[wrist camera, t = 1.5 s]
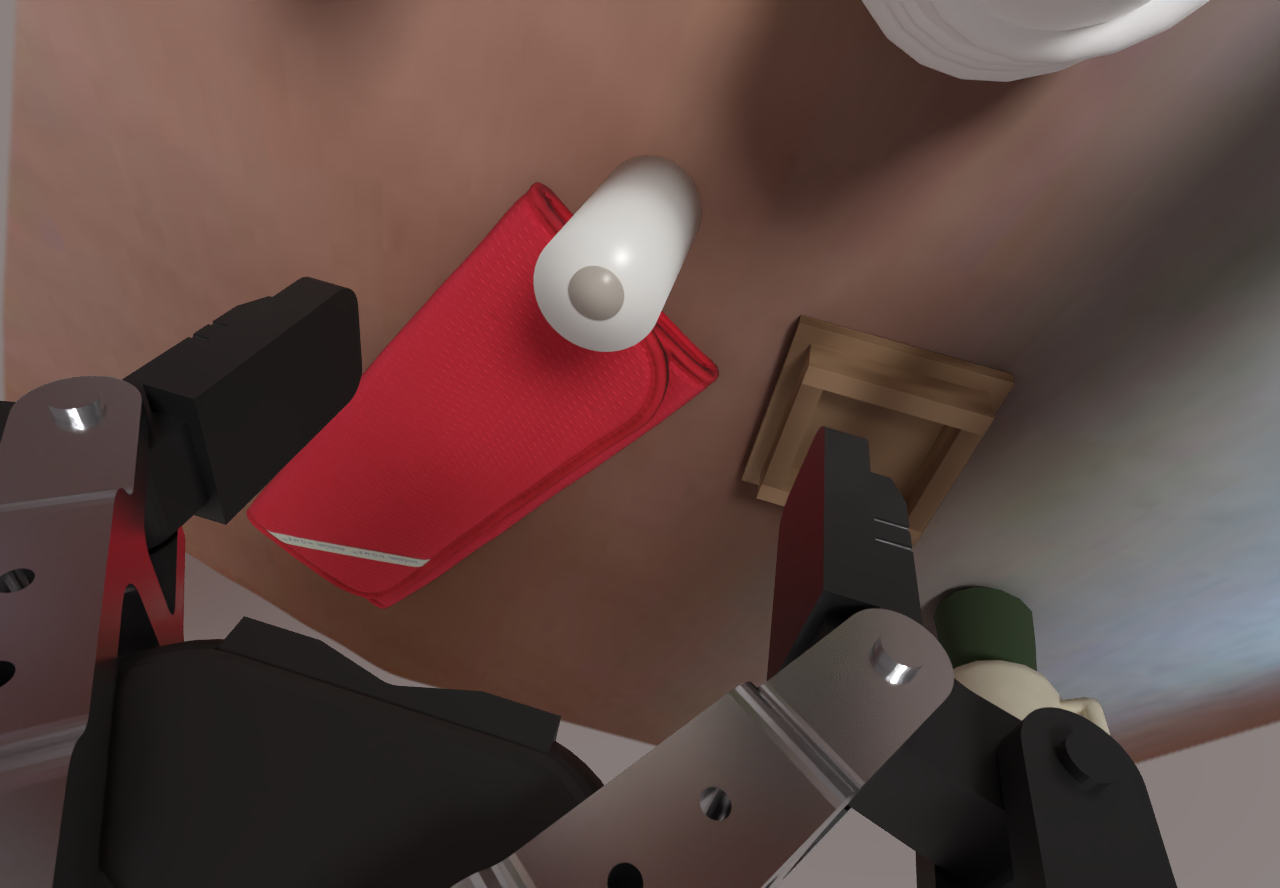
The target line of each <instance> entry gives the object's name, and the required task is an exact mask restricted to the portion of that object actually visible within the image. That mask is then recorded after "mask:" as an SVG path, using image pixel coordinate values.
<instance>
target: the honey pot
mask: <svg viewBox="0 0 1280 888" xmlns="http://www.w3.org/2000/svg"><path fill="white" fill-rule="evenodd" d="M861 1H862V2H863V4H864V5H865V6H866V8H867V9H868V11H869V12H870V14H871V15H872V17H873V18H874V20H875V21H876V23H877V24H878V26H879V27H880V29H881V30H882V32H883V33H884V35H885V36H886V38H888V39H889V40H890V41H891V42H893V43H894V44H895V45H896V46H898V47H899V48H900V49H902V50H903V51H904V52H905V53H907V54H908V55H909V56H910V57H912V58H913V59H914V60H916V61H917V62H918V63H919V64H921V65H924V66H926V67H929V68H932V69H934V70H937V71H940V72H943V73H945V74H948V75H951V76H954V77H956V78H959V79H966V80H983V81H1001V82H1009V81H1014V80H1019V79H1024V78H1028V77H1033V76H1038V75H1043V74H1048V73H1053V72H1058V71H1061V70H1063V69H1066V68H1068V67H1070V66H1072V65H1075V64H1077V63H1079V62H1081V61H1083V60H1086V59H1089V58H1094V57H1099V56H1103V55H1108V54H1113V53H1117V52H1119V51H1121V50H1123V49H1126V48H1128V47H1130V46H1132V45H1135V44H1137V43H1139V42H1141V41H1143V40H1146V39H1148V38H1150V37H1152V36H1155V35H1157V34H1159V33H1161V32H1163V31H1166V30H1168V29H1170V28H1171V27H1173V26H1174V25H1176V24H1177V23H1179V22H1180V21H1181V20H1183V19H1184V18H1186V17H1187V16H1188V15H1190V14H1191V13H1193V12H1194V11H1196V10H1197V9H1198V8H1200V7H1201V6H1203V5H1204V4H1206V3H1207V2H1208V1H1210V0H861Z"/></svg>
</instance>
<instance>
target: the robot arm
mask: <svg viewBox="0 0 1280 888" xmlns="http://www.w3.org/2000/svg"><path fill="white" fill-rule="evenodd" d="M361 375H362V358H361V343H360V328H359V313H358V301H357V297H356V295H355V293H354V292H353V291H352V290H351V289H349V288H345V287H342V286H338V285H335V284H331V283H328V282H324V281H321V280H317V279H314V278H310V277H303V278H301V279H299V280H297V281H296V282H294V283H293V284H291V285H290V286H288V287H287V288H285V289H284V290H282V291H281V292H279V293H278V294H276V295H275V296H273V297H270V296H268V297H264V298H261V299H258V300H255V301H251V302H248V303H245V304H242V305H238V306H236V307H234V308H233V309H231V310H230V311H228V312H227V313H225V314H223V315H222V316H220V317H219V318H217V319H216V320H214V321H213V324H212V325H209V324H208V325H206V326H205V327H203V328H202V329H200V330H199V331H197V332H195V333H194V334H193V338H190V337H188V338H186V339H185V340H183V341H181V342H180V343H178V344H177V345H175V346H174V347H172V348H170V349H169V350H167V351H166V352H164V353H163V354H161V355H160V356H158V357H156V358H155V359H153V360H152V361H150V362H149V363H147V364H146V365H144V366H142V367H141V368H139V369H138V370H136V371H135V372H133V373H132V374H130V375H128V376H127V377H125V378H124V379H122V380H120V379H117V378H112V377H106V376H80V377H72V378H66V379H61V380H58V381H54V382H50V383H48V384H45V385H42V386H40V387H38V388H36V389H33V390H31V391H30V392H28V393H27V394H25V395H23V396H22V397H21V398H20V399H19V400H17V401H16V402H8V401H0V888H777V887H778V886H779V885H780V884H781V883H782V882H783V881H784V880H785V879H786V878H787V877H788V876H789V874H791V872H792V871H793V870H794V869H795V868H796V867H797V866H798V865H799V864H800V863H801V862H802V861H803V859H805V858H806V857H807V856H808V854H809V853H810V852H811V851H812V850H813V849H814V848H815V847H816V846H817V845H818V844H819V843H820V842H821V841H822V840H823V839H824V837H825V836H826V835H827V834H828V833H829V832H830V831H831V830H832V829H833V828H834V827H835V826H836V825H837V824H838V823H839V822H840V821H841V820H842V818H843V817H844V816H845V815H846V814H847V813H848V812H849V811H850V810H851V809H852V808H853V809H855V810H856V811H857V812H859V813H860V814H862V815H863V816H865V817H866V818H868V819H869V820H871V821H872V822H873V823H875V824H876V825H878V826H879V827H881V828H882V829H884V830H885V831H887V832H888V833H890V834H891V835H893V836H894V837H896V838H897V839H898V840H900V841H901V842H903V843H904V844H906V845H907V846H909V847H910V848H912V849H913V850H915V851H916V874H917V888H1177V885H1176V882H1175V879H1174V876H1173V873H1172V869H1171V866H1170V863H1169V860H1168V856H1167V853H1166V850H1165V847H1164V844H1163V840H1162V837H1161V834H1160V831H1159V827H1158V824H1157V821H1156V818H1155V815H1154V812H1153V808H1152V805H1151V802H1150V799H1149V795H1148V792H1147V789H1146V786H1145V783H1144V781H1143V778H1142V776H1141V774H1140V772H1139V770H1138V769H1137V767H1136V765H1135V764H1134V762H1133V761H1132V759H1131V758H1130V756H1129V755H1128V754H1127V753H1126V751H1125V750H1124V749H1123V748H1122V747H1121V746H1120V745H1119V744H1118V743H1117V742H1116V741H1115V740H1114V739H1113V738H1112V737H1111V736H1110V735H1109V734H1108V733H1106V732H1105V731H1104V730H1103V729H1102V728H1100V727H1099V726H1097V725H1096V724H1094V723H1093V722H1091V721H1090V720H1088V719H1086V718H1084V717H1082V716H1081V715H1078V714H1076V713H1073V712H1071V711H1068V710H1064V709H1061V708H1054V707H1044V708H1039V709H1036V710H1034V711H1032V712H1031V713H1029V714H1028V715H1027V716H1026V717H1025V718H1024V719H1023V720H1020V719H1018V718H1016V717H1015V716H1013V715H1011V714H1010V713H1008V712H1006V711H1004V710H1003V709H1001V708H999V707H998V706H996V705H994V704H993V703H991V702H989V701H987V700H986V699H984V698H982V697H981V696H979V695H977V694H976V693H974V692H973V691H971V690H969V689H968V688H966V687H965V686H964V685H962V684H961V683H960V682H959V681H957V680H956V679H955V678H954V673H953V668H952V664H951V661H950V659H949V657H948V655H947V653H946V651H945V650H944V648H943V647H942V645H941V644H940V643H939V642H938V640H937V639H936V638H935V637H934V636H933V635H932V634H931V633H930V632H929V631H928V630H927V629H925V628H924V627H923V624H922V617H921V609H920V602H919V594H918V587H917V579H916V572H915V564H914V557H913V552H911V549H912V542H911V534H910V532H909V531H908V530H909V519H908V512H907V504H906V501H905V500H904V498H903V497H902V495H901V493H900V492H899V490H898V489H897V487H896V485H895V484H894V482H893V481H892V479H891V478H890V477H887V476H883V475H880V474H876V473H873V472H871V469H870V456H869V444H868V440H867V439H866V438H863V437H859V436H856V435H852V434H849V433H845V432H842V431H838V430H835V429H831V428H828V427H825V426H822V427H820V428H819V430H818V431H817V433H816V435H815V437H814V439H813V442H812V444H811V446H810V448H809V450H808V453H807V455H806V457H805V459H804V462H803V464H802V466H801V468H800V471H799V473H798V475H797V477H796V480H795V482H794V484H793V486H792V488H791V491H790V493H789V495H788V498H787V501H786V504H785V507H784V510H783V514H782V518H781V523H780V529H779V539H778V551H777V563H776V576H775V588H774V600H773V612H772V624H771V636H770V648H769V660H768V672H767V682H765V683H764V684H763V685H761V686H759V687H757V688H756V687H755V685H754V684H753V683H751V682H746V683H743V684H741V685H739V686H738V687H736V688H734V689H733V690H732V691H730V692H729V693H727V694H726V695H725V696H723V697H722V698H721V699H719V700H718V701H717V702H715V703H714V704H713V705H711V706H710V707H709V708H707V709H706V710H705V711H703V712H702V713H701V714H699V715H698V716H697V717H695V718H694V719H693V720H691V721H690V722H689V723H687V724H686V725H685V726H683V727H682V728H681V729H679V730H678V731H677V732H675V733H674V734H673V735H671V736H670V737H669V738H667V739H666V740H665V741H663V742H662V743H661V744H659V745H658V746H656V747H655V748H654V749H653V750H651V751H650V752H649V753H647V754H646V755H645V756H643V757H642V758H640V759H639V760H638V761H636V762H635V763H634V764H632V765H631V766H630V767H628V768H627V769H626V770H624V771H623V772H622V773H620V774H619V775H618V776H616V777H615V778H614V779H613V780H611V781H610V782H608V783H607V784H606V785H604V784H603V783H602V782H601V780H600V779H599V778H598V777H597V776H596V775H595V774H594V772H593V771H592V770H591V769H590V768H589V767H588V766H587V765H586V764H585V763H584V762H583V761H582V760H580V759H579V758H578V757H577V756H576V755H574V754H573V753H572V752H571V751H569V750H568V749H566V748H565V747H563V746H562V745H561V744H559V743H557V742H556V736H557V732H558V727H559V723H560V719H561V716H558V715H555V714H552V713H549V712H546V711H543V710H539V709H536V708H533V707H530V706H527V705H524V704H520V703H517V702H514V701H511V700H508V699H505V698H501V697H498V696H495V695H492V694H489V693H486V692H482V691H469V690H454V689H439V688H422V687H408V686H396V685H391V684H388V683H386V682H384V681H382V680H380V679H379V678H377V677H376V676H374V675H373V674H371V673H370V672H368V671H367V670H365V669H364V668H362V667H360V666H359V665H357V664H356V663H354V662H353V661H351V660H350V659H348V658H347V657H345V656H343V655H342V654H341V653H339V652H337V651H336V650H334V649H333V648H331V647H330V646H328V645H327V644H325V643H324V642H322V641H320V640H318V639H314V638H311V637H308V636H305V635H302V634H298V633H295V632H292V631H289V630H286V629H282V628H280V627H276V626H273V625H270V624H267V623H264V622H260V621H257V620H254V619H251V618H248V617H243V618H242V619H241V621H240V622H239V623H238V624H237V625H236V627H235V628H234V629H233V630H232V631H231V632H230V634H229V635H228V636H227V637H226V638H225V639H224V640H223V639H211V640H193V641H186V642H184V635H183V619H184V572H185V535H184V532H183V529H182V525H183V524H184V523H185V522H186V521H187V520H189V519H190V518H191V517H192V516H193V515H196V516H199V517H202V518H206V519H209V520H212V521H215V522H219V523H222V524H225V525H226V524H227V523H228V522H229V521H230V520H231V519H232V518H233V517H234V516H235V515H236V514H237V513H238V512H239V511H240V510H241V509H242V508H243V507H244V506H245V505H246V504H247V503H248V502H249V501H250V500H251V499H252V498H253V497H254V496H255V495H256V494H257V493H258V492H259V491H260V490H261V489H262V488H263V487H264V486H265V485H267V484H268V483H269V482H270V481H271V480H272V479H273V478H274V477H275V476H276V475H277V474H278V473H279V472H280V471H281V470H282V469H283V468H284V467H285V466H286V465H287V464H288V463H289V462H290V461H291V460H292V459H293V458H294V457H295V456H296V455H297V454H298V453H299V452H300V451H301V450H302V449H303V448H304V447H305V446H306V445H307V444H308V443H309V442H310V441H311V440H312V439H313V438H314V437H315V436H316V435H317V434H318V433H319V432H320V431H321V430H322V429H323V428H324V427H325V426H326V425H327V424H328V423H329V422H330V421H331V420H332V419H333V418H334V417H335V416H336V415H337V414H338V413H339V412H340V411H341V410H342V409H343V408H344V407H345V406H346V405H347V404H348V403H349V402H350V401H351V400H352V398H353V397H354V395H355V393H356V391H357V389H358V386H359V384H360V380H361Z"/></svg>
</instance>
